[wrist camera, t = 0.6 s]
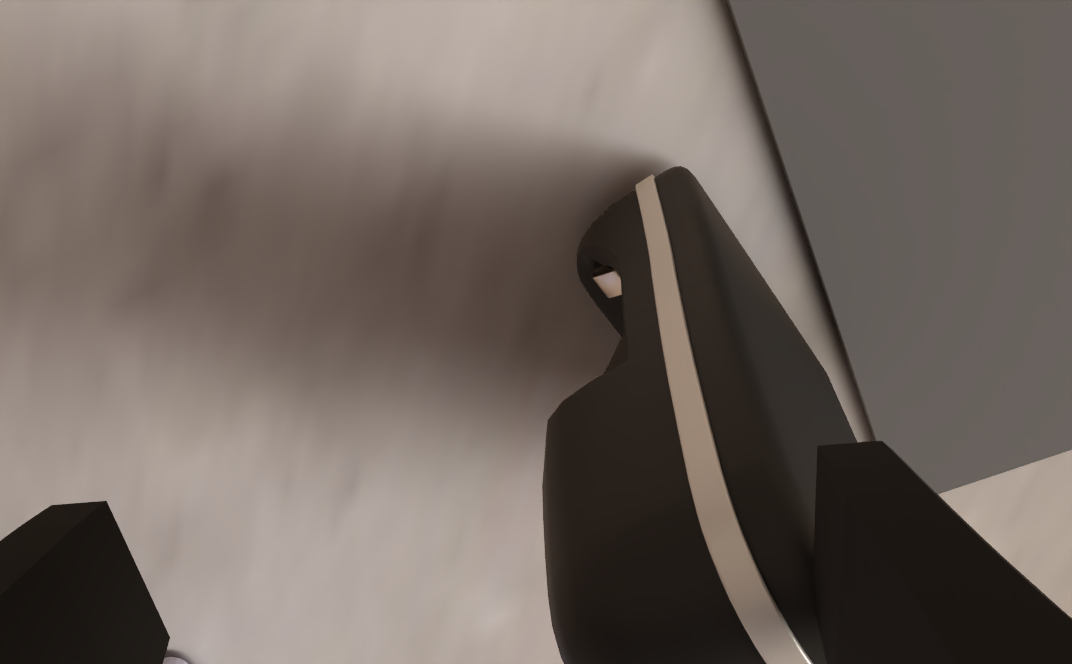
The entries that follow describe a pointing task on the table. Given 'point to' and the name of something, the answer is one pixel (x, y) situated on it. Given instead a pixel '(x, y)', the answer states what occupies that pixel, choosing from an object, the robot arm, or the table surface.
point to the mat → (934, 212)
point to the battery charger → (686, 451)
